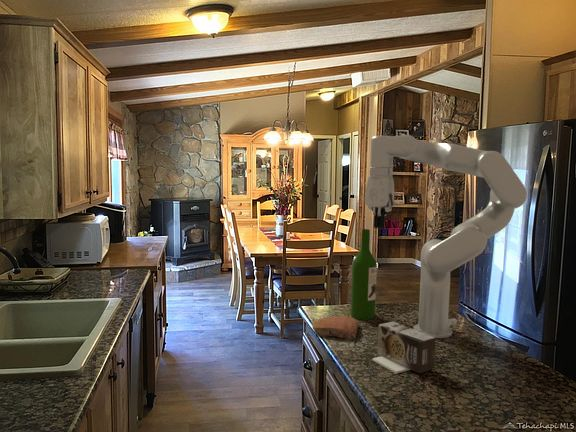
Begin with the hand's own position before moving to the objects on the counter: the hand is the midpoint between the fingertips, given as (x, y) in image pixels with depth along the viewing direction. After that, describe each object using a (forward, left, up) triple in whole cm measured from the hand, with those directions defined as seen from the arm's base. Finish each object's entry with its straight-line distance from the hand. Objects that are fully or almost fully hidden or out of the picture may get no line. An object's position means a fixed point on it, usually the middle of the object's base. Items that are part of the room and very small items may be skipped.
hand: (378, 227), depth 164 cm
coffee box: (+13, +19, -30) cm, 38 cm away
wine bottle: (-5, -13, -35) cm, 38 cm away
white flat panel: (+13, +27, -35) cm, 46 cm away
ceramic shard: (+14, -4, -36) cm, 39 cm away
